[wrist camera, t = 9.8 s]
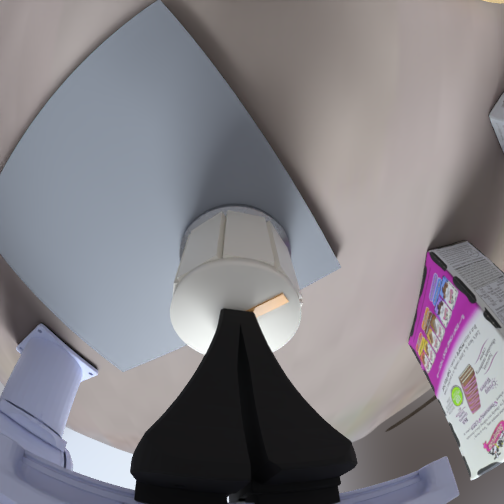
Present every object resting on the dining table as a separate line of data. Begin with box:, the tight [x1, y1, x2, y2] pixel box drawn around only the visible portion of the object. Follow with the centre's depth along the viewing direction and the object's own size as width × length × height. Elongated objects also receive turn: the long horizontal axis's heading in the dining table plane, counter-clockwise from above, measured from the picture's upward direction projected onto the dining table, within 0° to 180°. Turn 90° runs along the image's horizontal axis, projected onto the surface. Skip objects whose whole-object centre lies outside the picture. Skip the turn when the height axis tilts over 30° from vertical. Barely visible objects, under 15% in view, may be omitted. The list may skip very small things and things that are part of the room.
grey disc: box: [179, 204, 291, 261], centre depth 15 cm, size 6×6×4 cm
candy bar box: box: [408, 241, 504, 480], centre depth 14 cm, size 11×5×16 cm, turn 12°
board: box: [0, 0, 341, 372], centre depth 16 cm, size 21×19×1 cm
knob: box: [170, 210, 303, 355], centre depth 14 cm, size 6×6×5 cm
